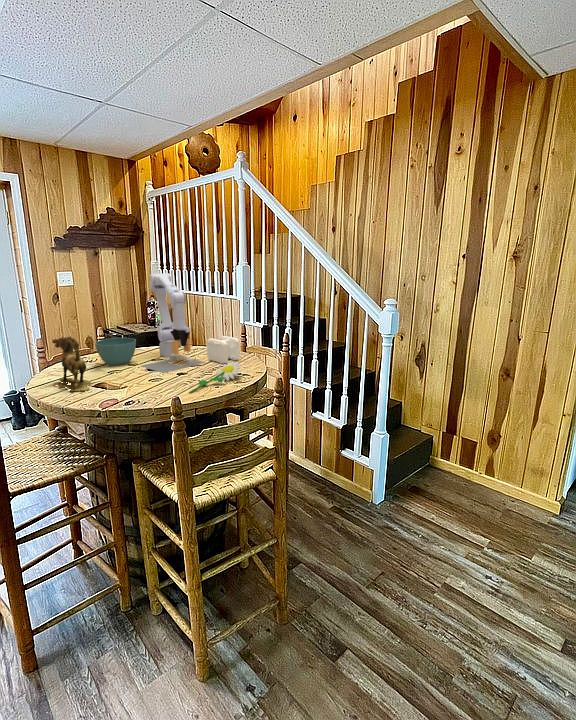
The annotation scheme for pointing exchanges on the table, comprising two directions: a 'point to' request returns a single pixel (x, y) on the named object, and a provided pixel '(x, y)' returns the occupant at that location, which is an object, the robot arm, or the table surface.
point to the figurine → (71, 365)
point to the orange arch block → (177, 343)
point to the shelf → (168, 367)
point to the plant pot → (116, 350)
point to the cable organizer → (223, 349)
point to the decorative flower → (222, 374)
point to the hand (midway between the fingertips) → (181, 345)
